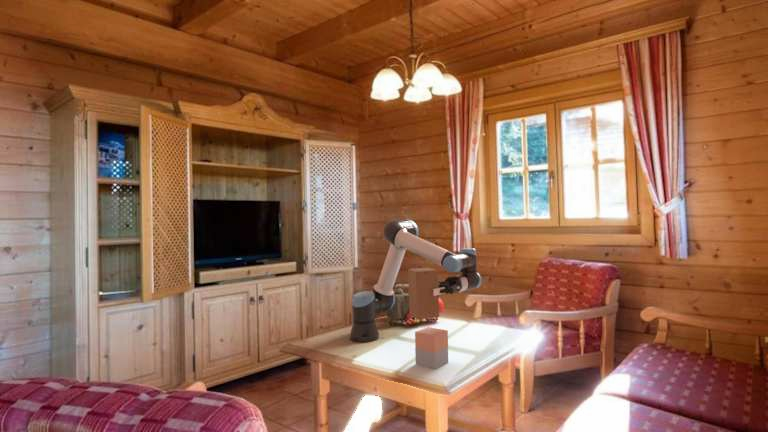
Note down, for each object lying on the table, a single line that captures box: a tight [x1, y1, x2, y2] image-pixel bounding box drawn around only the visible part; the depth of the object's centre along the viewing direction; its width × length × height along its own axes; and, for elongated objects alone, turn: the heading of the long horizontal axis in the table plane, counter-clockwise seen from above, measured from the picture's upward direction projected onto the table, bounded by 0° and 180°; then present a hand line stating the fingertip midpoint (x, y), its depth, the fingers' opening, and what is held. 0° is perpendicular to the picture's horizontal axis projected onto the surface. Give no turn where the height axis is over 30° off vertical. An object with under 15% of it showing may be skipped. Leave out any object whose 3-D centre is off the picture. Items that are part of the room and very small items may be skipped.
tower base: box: [414, 346, 449, 370], centre depth 191 cm, size 10×10×7 cm
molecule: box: [403, 297, 445, 326], centre depth 260 cm, size 25×11×16 cm, turn 125°
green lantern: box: [393, 283, 411, 319], centre depth 275 cm, size 10×10×20 cm
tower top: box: [414, 326, 449, 353], centre depth 191 cm, size 10×10×7 cm
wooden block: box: [407, 266, 440, 320], centre depth 191 cm, size 10×10×20 cm
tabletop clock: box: [385, 280, 409, 325], centre depth 260 cm, size 14×9×25 cm, turn 125°
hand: (422, 290), depth 190 cm, fingers closed on wooden block, 12 cm apart
